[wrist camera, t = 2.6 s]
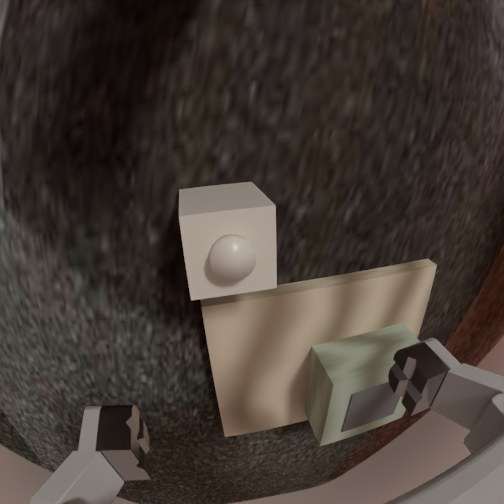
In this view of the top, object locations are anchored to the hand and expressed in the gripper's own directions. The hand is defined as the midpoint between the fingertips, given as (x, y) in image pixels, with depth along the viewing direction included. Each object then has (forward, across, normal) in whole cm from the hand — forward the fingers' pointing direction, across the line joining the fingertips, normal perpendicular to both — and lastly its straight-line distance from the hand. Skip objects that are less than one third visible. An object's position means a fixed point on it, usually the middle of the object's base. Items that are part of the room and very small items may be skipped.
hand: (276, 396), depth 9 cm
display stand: (+15, -9, +15) cm, 23 cm away
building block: (+16, 0, 0) cm, 16 cm away
